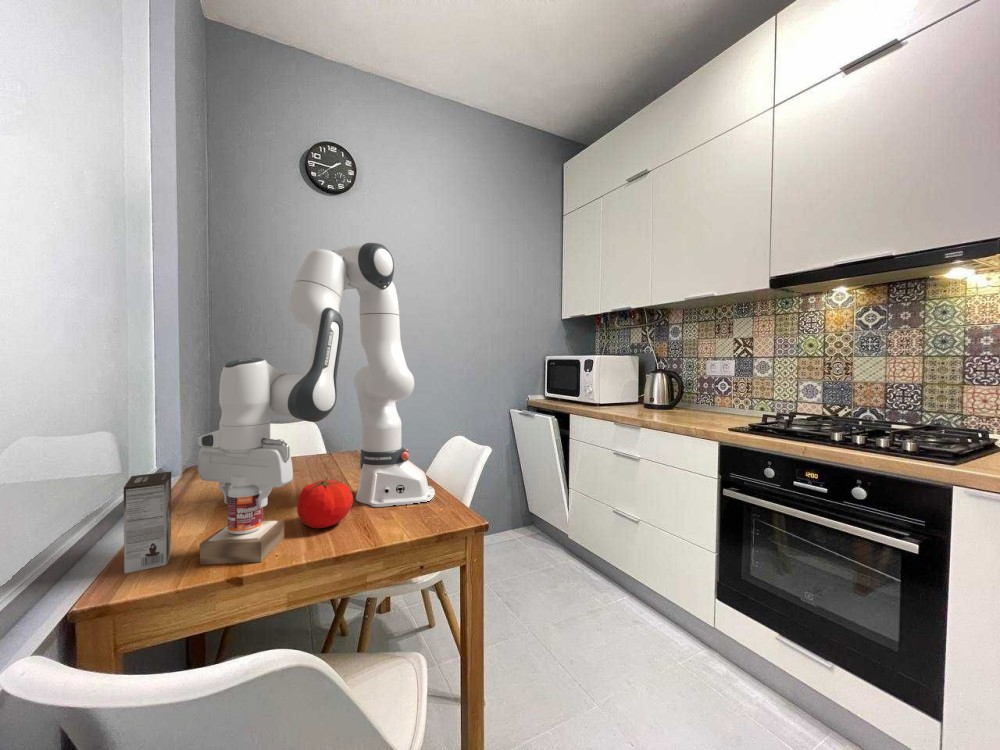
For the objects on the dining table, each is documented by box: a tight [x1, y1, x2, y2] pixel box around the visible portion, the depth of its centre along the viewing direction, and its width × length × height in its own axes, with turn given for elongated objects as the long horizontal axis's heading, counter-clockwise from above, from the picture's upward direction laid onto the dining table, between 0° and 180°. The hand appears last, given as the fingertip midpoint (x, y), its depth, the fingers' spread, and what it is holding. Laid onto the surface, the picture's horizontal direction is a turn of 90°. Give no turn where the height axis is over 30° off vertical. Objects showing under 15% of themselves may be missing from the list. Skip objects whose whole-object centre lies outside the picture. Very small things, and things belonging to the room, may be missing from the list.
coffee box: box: [123, 471, 173, 574], centre depth 79 cm, size 9×6×16 cm
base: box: [199, 520, 285, 566], centre depth 84 cm, size 11×11×4 cm
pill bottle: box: [226, 476, 264, 534], centre depth 84 cm, size 6×6×11 cm
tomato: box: [296, 476, 354, 529], centre depth 98 cm, size 13×12×11 cm
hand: (245, 504), depth 84 cm, fingers closed on pill bottle, 6 cm apart
